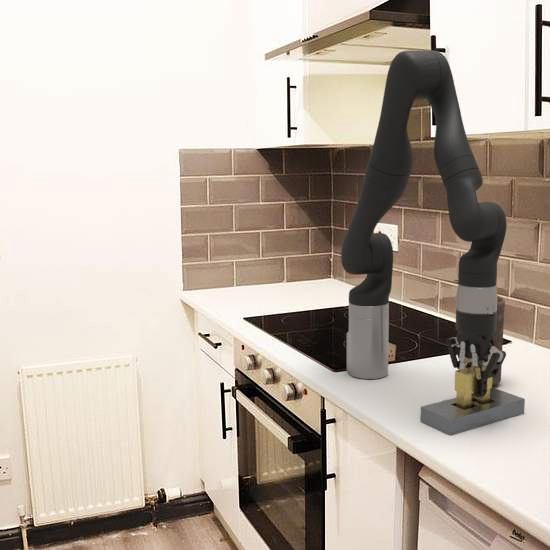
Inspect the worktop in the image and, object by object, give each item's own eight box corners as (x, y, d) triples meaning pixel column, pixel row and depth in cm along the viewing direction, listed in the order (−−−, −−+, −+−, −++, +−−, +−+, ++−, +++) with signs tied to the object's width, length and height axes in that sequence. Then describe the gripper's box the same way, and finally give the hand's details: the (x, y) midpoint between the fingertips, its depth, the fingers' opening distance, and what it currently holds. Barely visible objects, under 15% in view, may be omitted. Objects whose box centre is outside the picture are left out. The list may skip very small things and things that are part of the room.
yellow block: (454, 412, 137) (455, 370, 135) (479, 405, 140) (481, 364, 139) (465, 417, 134) (466, 374, 132) (491, 410, 137) (492, 368, 136)
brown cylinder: (495, 377, 160) (498, 292, 157) (506, 388, 153) (510, 299, 150) (462, 378, 160) (464, 293, 157) (472, 389, 153) (475, 300, 149)
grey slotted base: (420, 421, 136) (420, 406, 135) (492, 401, 146) (493, 387, 145) (450, 435, 129) (450, 419, 128) (524, 413, 139) (524, 398, 138)
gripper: (435, 303, 137) (433, 387, 140) (490, 317, 126) (487, 408, 129) (463, 298, 141) (461, 380, 144) (519, 311, 129) (515, 400, 132)
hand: (473, 393), depth 136 cm, fingers closed on yellow block, 3 cm apart
